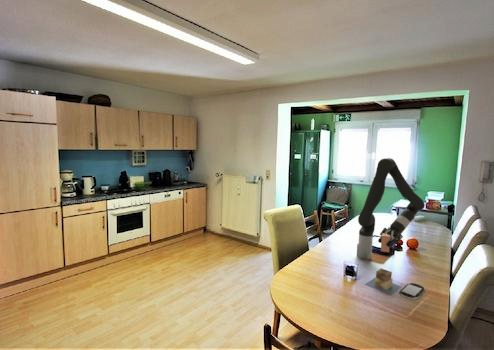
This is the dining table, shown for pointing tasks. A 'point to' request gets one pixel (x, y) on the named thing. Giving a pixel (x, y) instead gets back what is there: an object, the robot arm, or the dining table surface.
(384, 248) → the terracotta pillar
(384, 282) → the tower base
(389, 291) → the slate mat
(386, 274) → the tower top
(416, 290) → the gaming console
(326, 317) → the dining table surface
